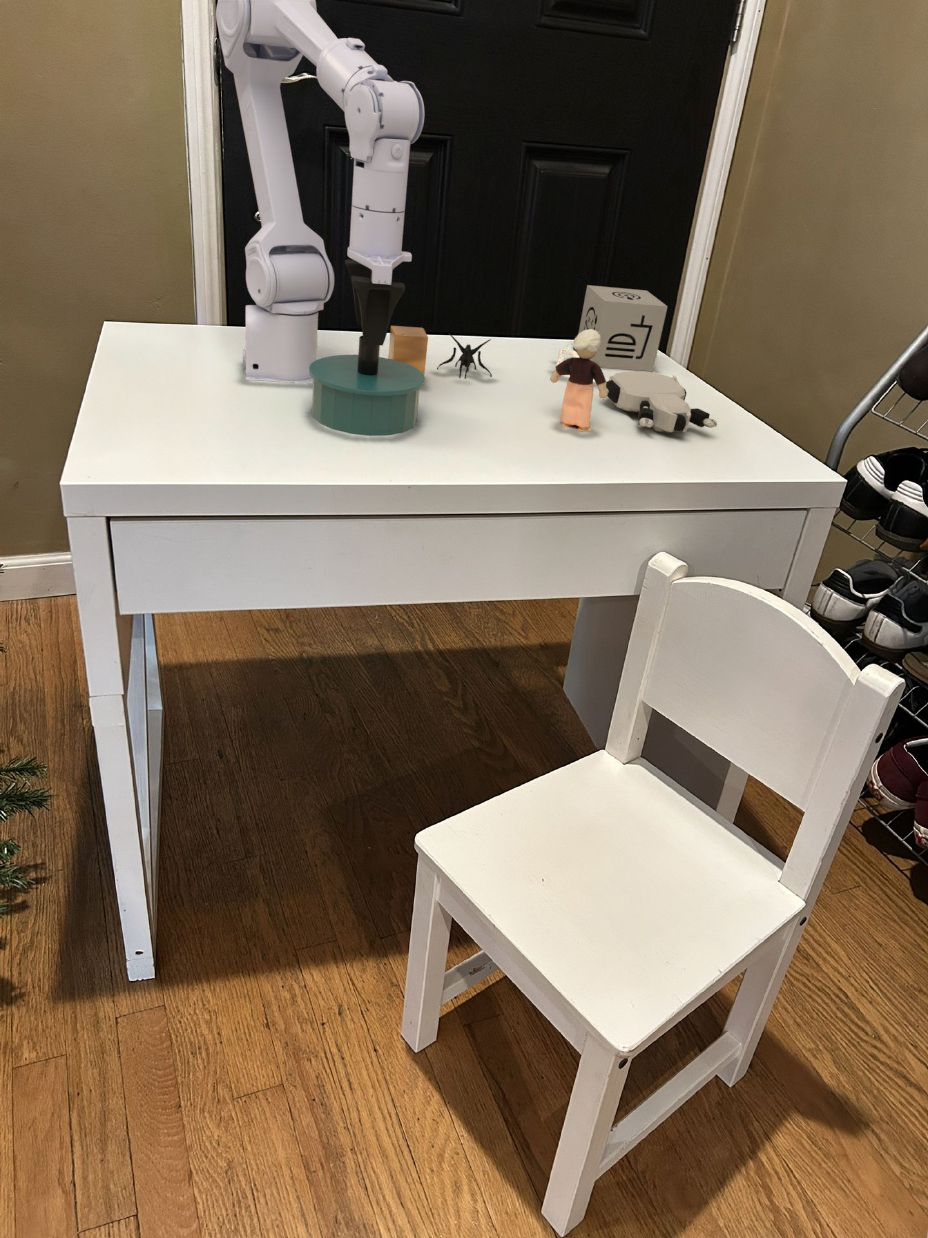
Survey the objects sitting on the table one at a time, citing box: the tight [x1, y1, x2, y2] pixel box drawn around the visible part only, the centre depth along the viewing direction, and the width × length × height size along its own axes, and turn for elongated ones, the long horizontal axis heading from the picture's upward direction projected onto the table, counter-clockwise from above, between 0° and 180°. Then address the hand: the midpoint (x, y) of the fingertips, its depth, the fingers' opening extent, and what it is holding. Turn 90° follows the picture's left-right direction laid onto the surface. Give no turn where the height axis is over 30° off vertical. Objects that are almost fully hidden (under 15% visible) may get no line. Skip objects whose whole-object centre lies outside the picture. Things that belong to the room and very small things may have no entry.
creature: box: [436, 333, 493, 380], centre depth 133 cm, size 8×5×8 cm
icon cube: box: [578, 284, 668, 372], centre depth 149 cm, size 10×10×10 cm
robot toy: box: [606, 370, 718, 433], centre depth 126 cm, size 12×4×15 cm
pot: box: [311, 379, 421, 437], centre depth 113 cm, size 12×13×6 cm
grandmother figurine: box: [549, 329, 608, 432], centre depth 117 cm, size 8×4×13 cm, turn 71°
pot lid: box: [309, 335, 426, 396], centre depth 110 cm, size 14×14×5 cm
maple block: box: [387, 325, 429, 376], centre depth 127 cm, size 4×4×7 cm
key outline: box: [555, 348, 596, 383], centre depth 142 cm, size 13×5×2 cm, turn 11°
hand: (369, 334), depth 109 cm, fingers open, 7 cm apart
